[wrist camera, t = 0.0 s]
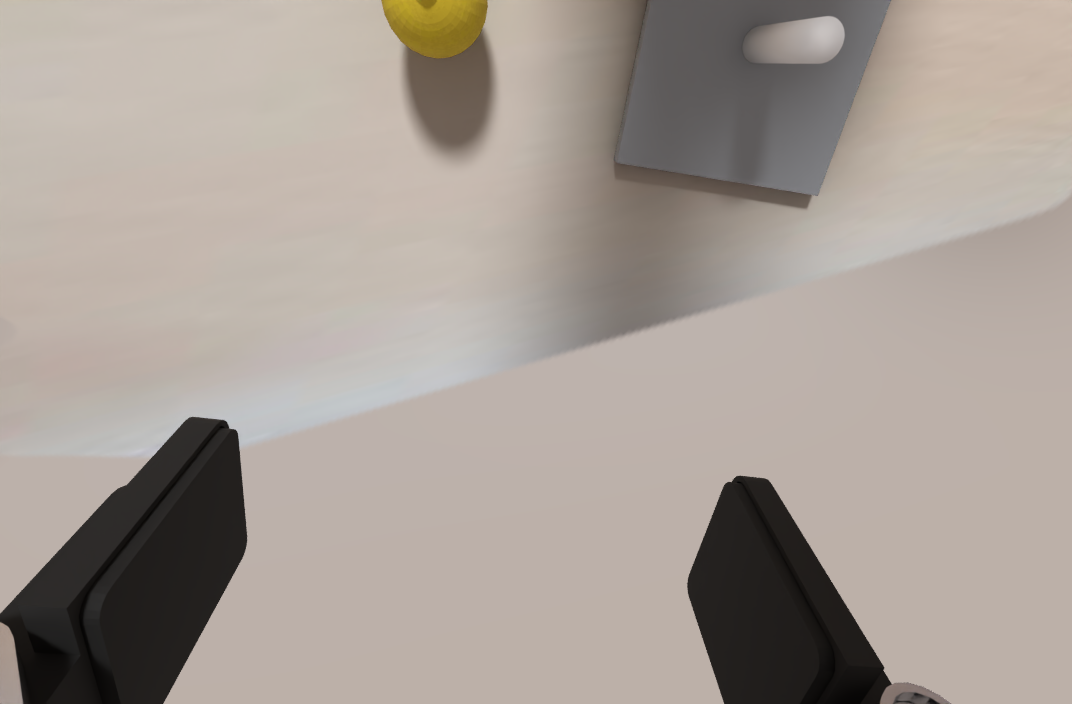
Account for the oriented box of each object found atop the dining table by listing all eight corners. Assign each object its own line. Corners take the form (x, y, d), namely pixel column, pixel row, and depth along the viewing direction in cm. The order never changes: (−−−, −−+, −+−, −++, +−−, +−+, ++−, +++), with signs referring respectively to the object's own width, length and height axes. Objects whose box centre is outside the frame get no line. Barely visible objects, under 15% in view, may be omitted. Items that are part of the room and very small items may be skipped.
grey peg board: (677, -142, 31) (736, -215, 23) (912, -90, 33) (1047, -140, 24) (613, 160, 38) (641, 186, 30) (809, 192, 40) (886, 226, 32)
